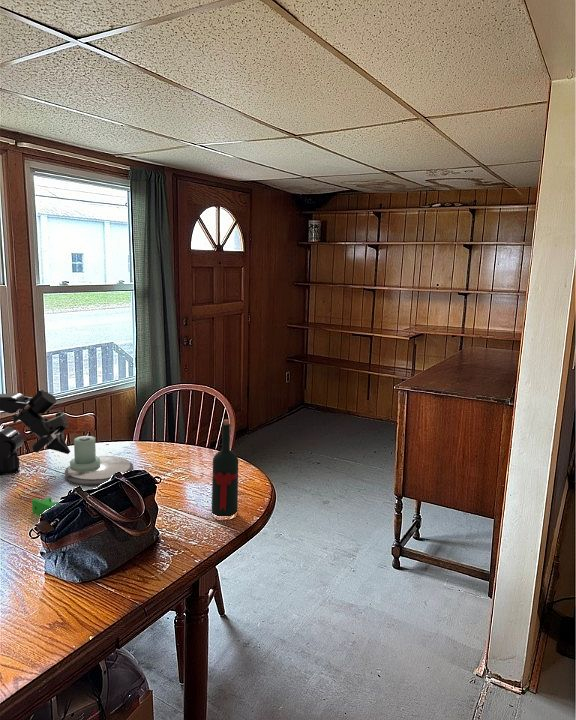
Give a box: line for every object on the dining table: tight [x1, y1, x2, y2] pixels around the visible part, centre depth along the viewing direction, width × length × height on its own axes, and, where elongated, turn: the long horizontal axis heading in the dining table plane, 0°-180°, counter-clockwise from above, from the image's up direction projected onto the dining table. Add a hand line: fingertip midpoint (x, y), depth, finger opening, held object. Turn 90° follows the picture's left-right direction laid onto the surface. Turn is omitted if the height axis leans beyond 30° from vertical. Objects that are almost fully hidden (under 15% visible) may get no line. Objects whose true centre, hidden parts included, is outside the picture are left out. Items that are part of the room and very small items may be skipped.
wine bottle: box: [211, 418, 239, 516], centre depth 152 cm, size 8×10×30 cm
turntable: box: [64, 455, 134, 487], centre depth 183 cm, size 23×23×2 cm
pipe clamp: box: [31, 497, 59, 517], centre depth 151 cm, size 11×4×5 cm, turn 63°
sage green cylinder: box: [69, 435, 100, 471], centre depth 182 cm, size 10×10×10 cm
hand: (69, 452), depth 182 cm, fingers closed
